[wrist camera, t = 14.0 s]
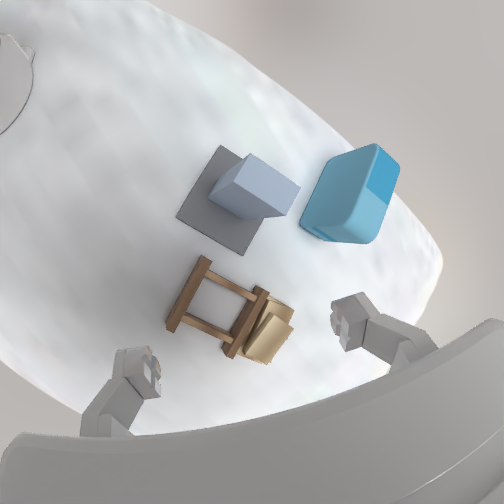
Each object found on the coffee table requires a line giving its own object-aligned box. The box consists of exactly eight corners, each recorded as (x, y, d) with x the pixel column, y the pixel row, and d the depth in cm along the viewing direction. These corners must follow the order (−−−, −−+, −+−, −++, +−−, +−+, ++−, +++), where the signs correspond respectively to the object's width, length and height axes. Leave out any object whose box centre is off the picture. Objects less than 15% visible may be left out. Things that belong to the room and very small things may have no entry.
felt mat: (175, 217, 35) (175, 217, 35) (219, 146, 37) (220, 144, 36) (241, 255, 39) (243, 256, 38) (280, 186, 40) (282, 185, 39)
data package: (320, 241, 42) (374, 245, 31) (296, 226, 41) (347, 225, 30) (349, 174, 43) (403, 162, 32) (328, 158, 42) (380, 140, 30)
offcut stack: (231, 348, 39) (240, 361, 35) (262, 292, 40) (275, 300, 36) (259, 360, 41) (271, 373, 36) (289, 307, 41) (304, 315, 37)
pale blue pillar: (207, 198, 36) (233, 181, 24) (219, 178, 36) (250, 153, 24) (243, 220, 38) (285, 215, 25) (254, 200, 38) (300, 187, 26)
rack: (165, 322, 36) (166, 329, 33) (201, 254, 37) (205, 257, 34) (227, 350, 39) (232, 359, 36) (261, 288, 40) (269, 292, 37)
